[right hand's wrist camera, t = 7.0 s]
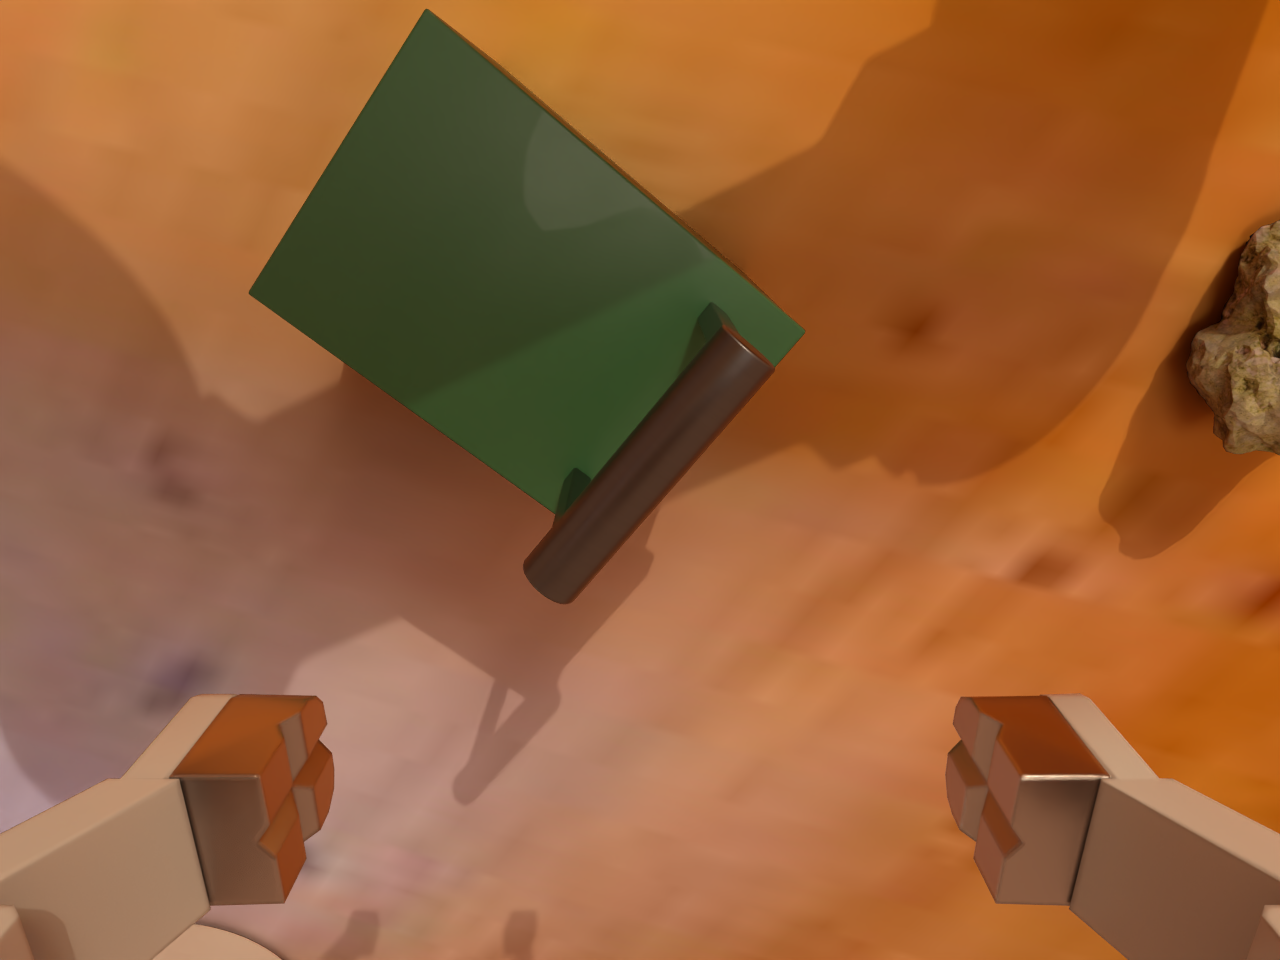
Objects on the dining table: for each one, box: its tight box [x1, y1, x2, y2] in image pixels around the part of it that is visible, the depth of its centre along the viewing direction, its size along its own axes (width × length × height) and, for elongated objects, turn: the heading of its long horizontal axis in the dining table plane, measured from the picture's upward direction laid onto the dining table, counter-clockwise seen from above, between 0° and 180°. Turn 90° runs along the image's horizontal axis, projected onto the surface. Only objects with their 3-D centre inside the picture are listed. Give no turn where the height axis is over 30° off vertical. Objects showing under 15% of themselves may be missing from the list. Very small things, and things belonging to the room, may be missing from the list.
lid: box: [249, 9, 805, 604], centre depth 22 cm, size 14×10×8 cm
